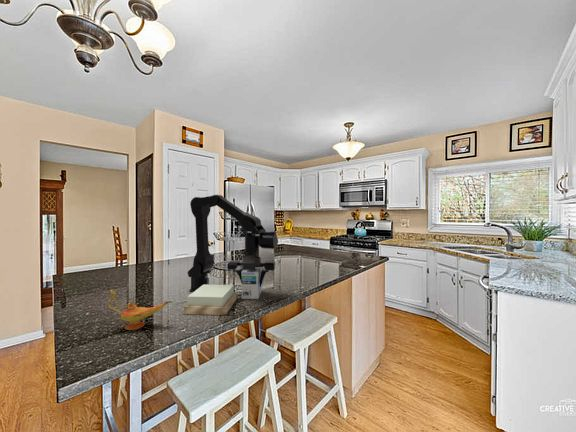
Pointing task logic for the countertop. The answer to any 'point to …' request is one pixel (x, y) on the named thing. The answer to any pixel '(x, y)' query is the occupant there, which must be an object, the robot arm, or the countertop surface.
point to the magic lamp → (135, 313)
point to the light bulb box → (251, 283)
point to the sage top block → (210, 295)
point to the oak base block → (212, 308)
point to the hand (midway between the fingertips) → (252, 286)
